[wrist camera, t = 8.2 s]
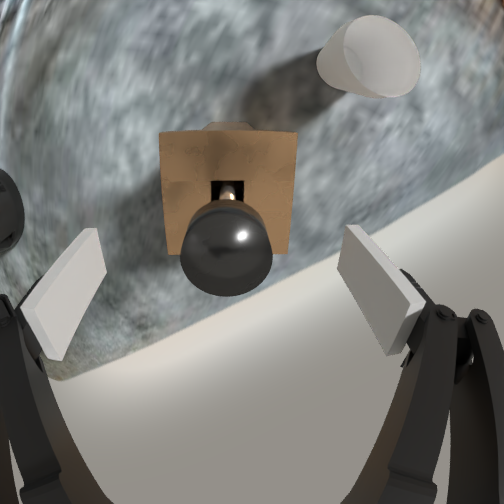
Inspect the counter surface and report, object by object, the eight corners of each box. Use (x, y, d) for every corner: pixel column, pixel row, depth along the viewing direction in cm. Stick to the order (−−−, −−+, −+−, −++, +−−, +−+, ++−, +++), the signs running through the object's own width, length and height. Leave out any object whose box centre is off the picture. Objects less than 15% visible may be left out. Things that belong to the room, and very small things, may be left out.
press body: (190, 218, 38) (171, 280, 25) (187, 122, 32) (158, 133, 19) (265, 217, 39) (284, 279, 26) (270, 122, 33) (297, 133, 20)
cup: (349, 111, 32) (396, 117, 22) (293, 71, 30) (323, 56, 19) (380, 64, 29) (433, 58, 18) (328, 24, 26) (368, -3, 16)
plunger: (195, 199, 33) (160, 318, 15) (194, 136, 29) (138, 183, 11) (260, 199, 33) (295, 317, 16) (262, 136, 30) (314, 183, 12)
